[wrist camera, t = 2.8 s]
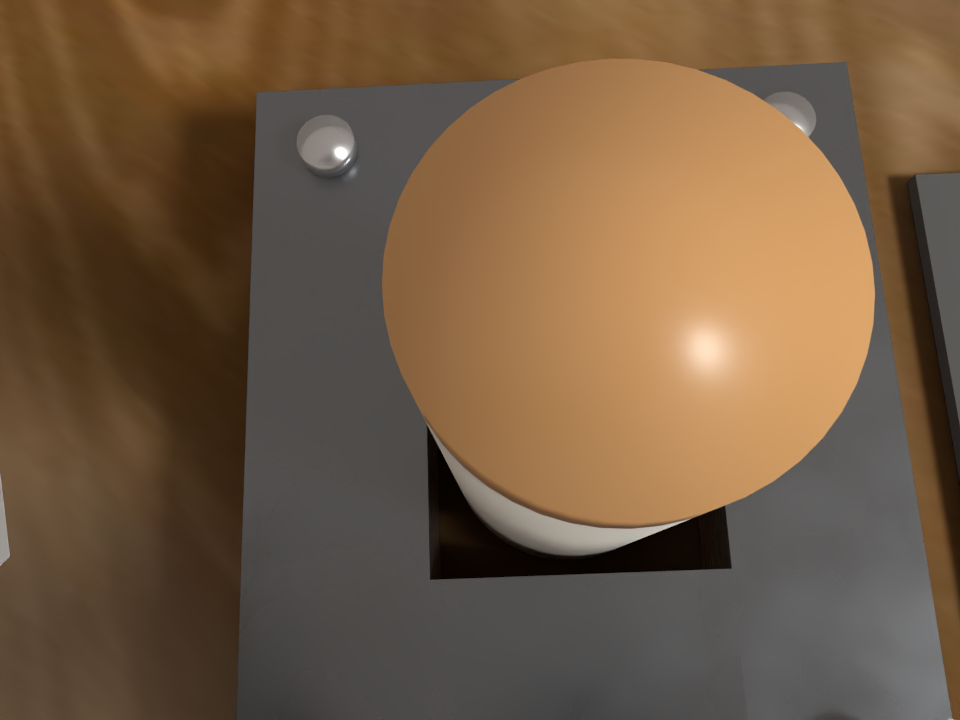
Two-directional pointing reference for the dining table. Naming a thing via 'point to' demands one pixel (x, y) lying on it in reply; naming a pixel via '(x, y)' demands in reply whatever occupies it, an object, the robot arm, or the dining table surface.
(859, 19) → the dining table surface
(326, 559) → the plate
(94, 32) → the dining table surface
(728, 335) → the white capped post
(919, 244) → the mat
